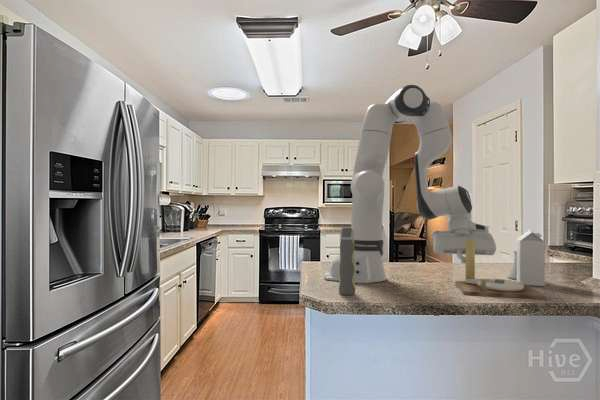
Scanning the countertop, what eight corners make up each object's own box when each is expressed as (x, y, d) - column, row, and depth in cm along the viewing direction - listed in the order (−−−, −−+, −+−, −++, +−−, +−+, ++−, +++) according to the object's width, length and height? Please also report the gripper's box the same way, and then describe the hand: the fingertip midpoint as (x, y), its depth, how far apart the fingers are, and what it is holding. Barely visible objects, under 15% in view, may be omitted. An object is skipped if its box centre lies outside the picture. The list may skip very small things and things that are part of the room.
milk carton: (520, 285, 126) (520, 228, 126) (516, 281, 132) (516, 227, 133) (544, 287, 123) (544, 229, 123) (540, 282, 130) (539, 228, 130)
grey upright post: (355, 292, 114) (356, 227, 114) (354, 296, 109) (354, 228, 109) (340, 291, 115) (340, 226, 115) (337, 295, 110) (337, 227, 111)
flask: (524, 277, 140) (524, 250, 140) (534, 281, 133) (534, 253, 133) (503, 276, 141) (503, 250, 141) (512, 280, 133) (512, 252, 134)
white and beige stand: (528, 286, 117) (528, 241, 118) (517, 293, 108) (516, 244, 108) (472, 278, 129) (472, 237, 129) (458, 284, 120) (458, 240, 120)
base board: (463, 294, 112) (463, 281, 112) (455, 283, 128) (455, 271, 128) (546, 299, 107) (546, 285, 107) (527, 287, 122) (527, 275, 122)
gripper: (431, 225, 137) (434, 255, 127) (492, 226, 132) (500, 258, 122) (430, 236, 141) (433, 266, 132) (489, 238, 136) (496, 269, 127)
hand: (466, 262), depth 127 cm, fingers closed
